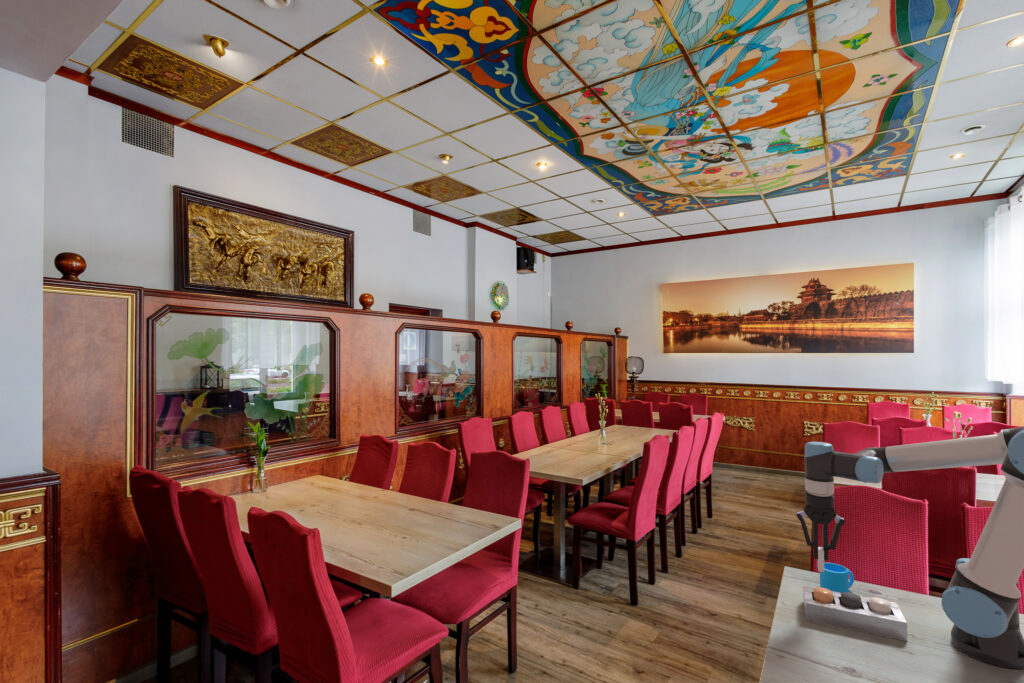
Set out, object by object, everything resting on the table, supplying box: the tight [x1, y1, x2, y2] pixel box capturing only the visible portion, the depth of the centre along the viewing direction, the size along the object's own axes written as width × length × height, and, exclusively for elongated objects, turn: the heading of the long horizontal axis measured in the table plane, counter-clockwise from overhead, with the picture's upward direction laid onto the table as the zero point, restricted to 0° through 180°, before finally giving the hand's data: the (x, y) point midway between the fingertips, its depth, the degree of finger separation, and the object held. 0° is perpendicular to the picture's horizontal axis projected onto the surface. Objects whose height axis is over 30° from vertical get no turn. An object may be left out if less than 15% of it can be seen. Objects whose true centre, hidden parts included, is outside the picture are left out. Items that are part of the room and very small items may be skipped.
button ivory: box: [868, 596, 891, 615], centre depth 140 cm, size 5×5×4 cm
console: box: [802, 585, 909, 642], centre depth 143 cm, size 24×12×5 cm, turn 62°
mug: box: [819, 562, 855, 593], centre depth 161 cm, size 12×8×8 cm
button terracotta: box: [813, 586, 833, 604], centre depth 147 cm, size 5×5×4 cm
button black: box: [841, 591, 862, 609], centre depth 144 cm, size 5×5×4 cm
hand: (821, 569), depth 147 cm, fingers closed
